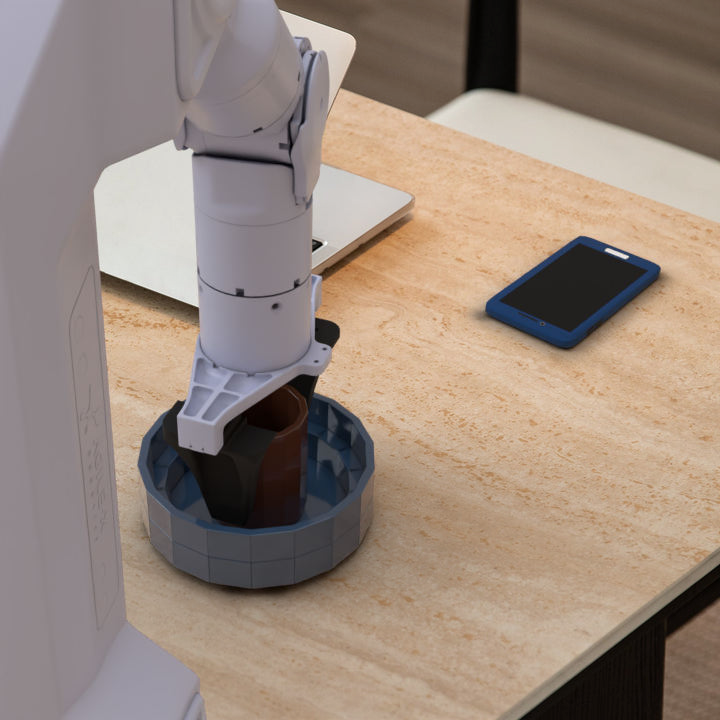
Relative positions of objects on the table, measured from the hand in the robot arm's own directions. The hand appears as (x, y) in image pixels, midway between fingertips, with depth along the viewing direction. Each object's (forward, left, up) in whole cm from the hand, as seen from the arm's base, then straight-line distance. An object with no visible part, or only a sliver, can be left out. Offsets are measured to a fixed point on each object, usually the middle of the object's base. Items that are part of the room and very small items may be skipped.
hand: (257, 474), depth 70 cm
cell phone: (+32, -7, -3) cm, 33 cm away
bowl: (0, 0, -3) cm, 3 cm away
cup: (0, 0, -2) cm, 2 cm away
